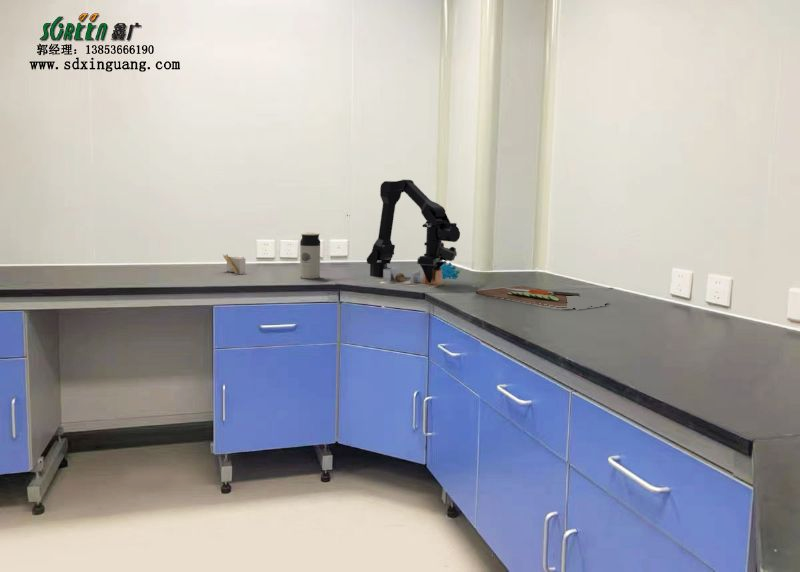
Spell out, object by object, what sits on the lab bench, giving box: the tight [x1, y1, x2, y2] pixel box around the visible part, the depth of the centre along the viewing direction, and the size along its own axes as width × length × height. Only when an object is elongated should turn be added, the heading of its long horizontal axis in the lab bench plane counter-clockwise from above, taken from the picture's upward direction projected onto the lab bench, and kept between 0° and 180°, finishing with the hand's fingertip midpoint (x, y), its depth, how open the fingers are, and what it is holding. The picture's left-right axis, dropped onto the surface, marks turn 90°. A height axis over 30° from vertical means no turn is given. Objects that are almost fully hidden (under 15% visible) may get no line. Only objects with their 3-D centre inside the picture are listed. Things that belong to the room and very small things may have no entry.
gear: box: [440, 260, 461, 280], centre depth 278 cm, size 11×6×10 cm
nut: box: [395, 272, 406, 282], centre depth 259 cm, size 4×4×4 cm
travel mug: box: [299, 232, 321, 280], centre depth 272 cm, size 8×8×18 cm
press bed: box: [379, 278, 444, 289], centre depth 257 cm, size 22×12×2 cm, turn 68°
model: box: [222, 254, 247, 275], centre depth 282 cm, size 3×11×8 cm, turn 57°
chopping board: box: [475, 285, 581, 308], centre depth 237 cm, size 45×27×3 cm, turn 38°
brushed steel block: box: [382, 266, 400, 284], centre depth 260 cm, size 3×8×5 cm, turn 158°
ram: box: [410, 270, 443, 287], centre depth 255 cm, size 10×7×5 cm
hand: (432, 281), depth 254 cm, fingers open, 6 cm apart
